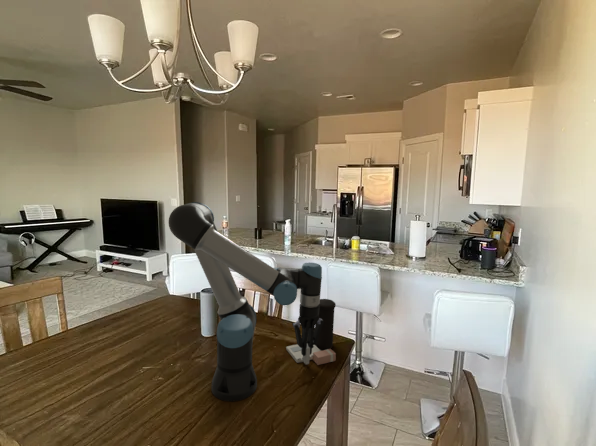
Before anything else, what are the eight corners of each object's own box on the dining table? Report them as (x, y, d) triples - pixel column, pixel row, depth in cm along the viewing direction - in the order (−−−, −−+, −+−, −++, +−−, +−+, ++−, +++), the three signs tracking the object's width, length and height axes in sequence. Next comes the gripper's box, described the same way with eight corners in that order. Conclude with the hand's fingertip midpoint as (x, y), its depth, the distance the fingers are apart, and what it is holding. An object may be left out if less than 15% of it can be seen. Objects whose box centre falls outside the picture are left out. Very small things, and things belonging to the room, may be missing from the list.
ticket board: (297, 363, 125) (297, 359, 125) (286, 349, 135) (286, 346, 135) (323, 356, 130) (324, 353, 130) (311, 344, 140) (311, 341, 140)
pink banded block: (317, 365, 124) (318, 357, 123) (312, 359, 127) (313, 352, 127) (335, 360, 127) (335, 353, 127) (330, 355, 131) (330, 348, 130)
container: (333, 340, 143) (335, 297, 141) (333, 351, 135) (336, 305, 132) (314, 339, 144) (315, 296, 142) (312, 349, 135) (315, 304, 133)
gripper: (298, 309, 115) (294, 371, 118) (329, 305, 120) (325, 364, 124) (289, 302, 121) (286, 360, 124) (319, 298, 127) (315, 354, 130)
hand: (305, 362), depth 124 cm, fingers closed
